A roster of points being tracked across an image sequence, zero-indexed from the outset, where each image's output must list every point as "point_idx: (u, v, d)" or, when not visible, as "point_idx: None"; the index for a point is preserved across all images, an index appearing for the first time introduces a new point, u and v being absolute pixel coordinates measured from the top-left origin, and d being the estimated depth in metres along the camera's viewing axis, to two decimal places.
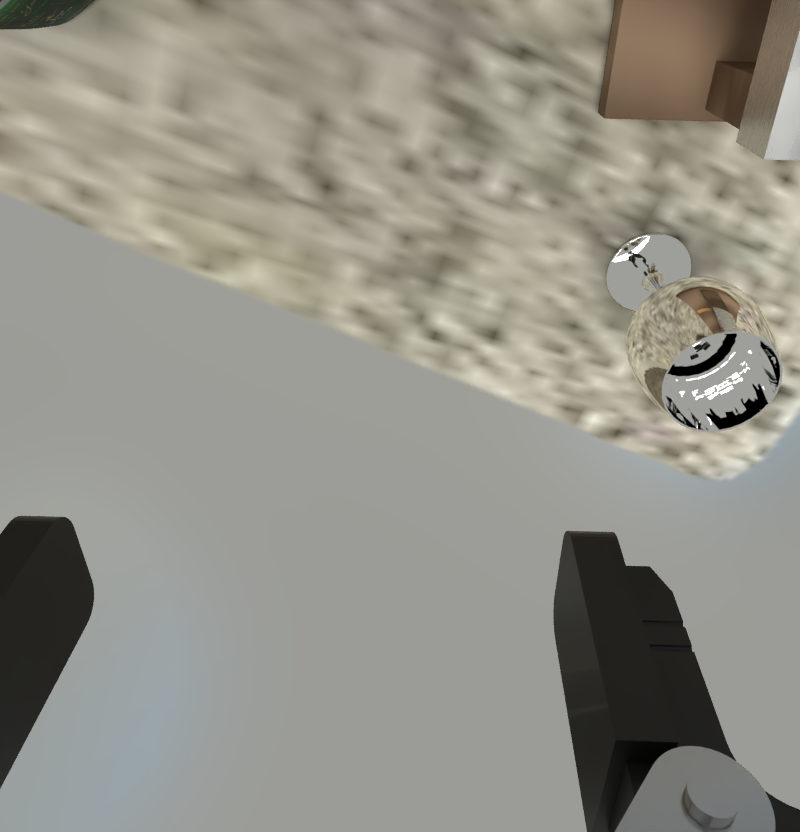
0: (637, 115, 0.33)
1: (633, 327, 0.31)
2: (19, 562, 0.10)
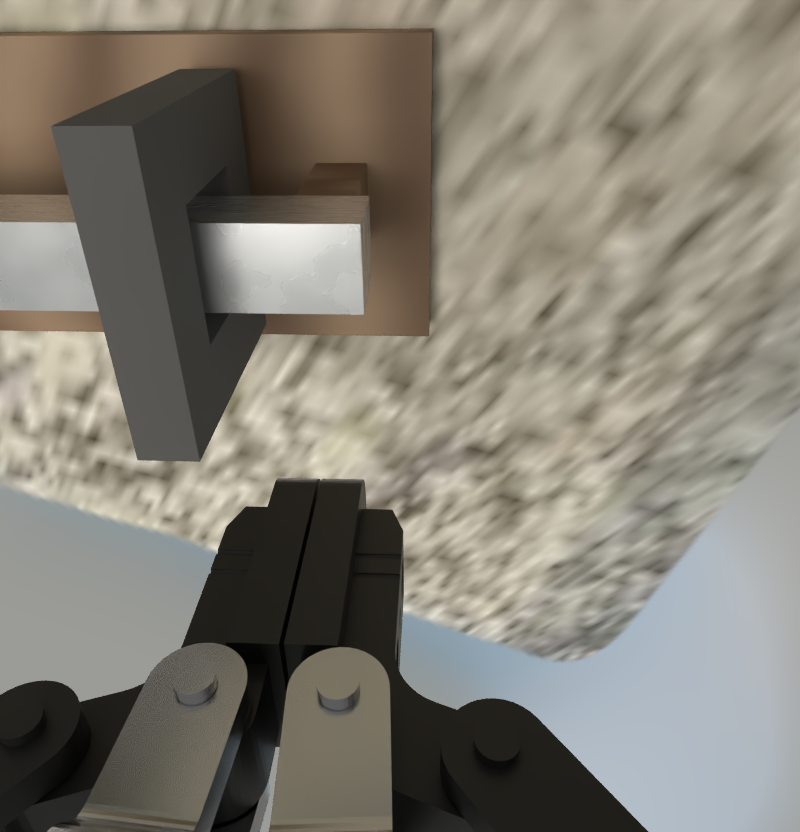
0: None
1: None
2: (301, 517, 0.11)
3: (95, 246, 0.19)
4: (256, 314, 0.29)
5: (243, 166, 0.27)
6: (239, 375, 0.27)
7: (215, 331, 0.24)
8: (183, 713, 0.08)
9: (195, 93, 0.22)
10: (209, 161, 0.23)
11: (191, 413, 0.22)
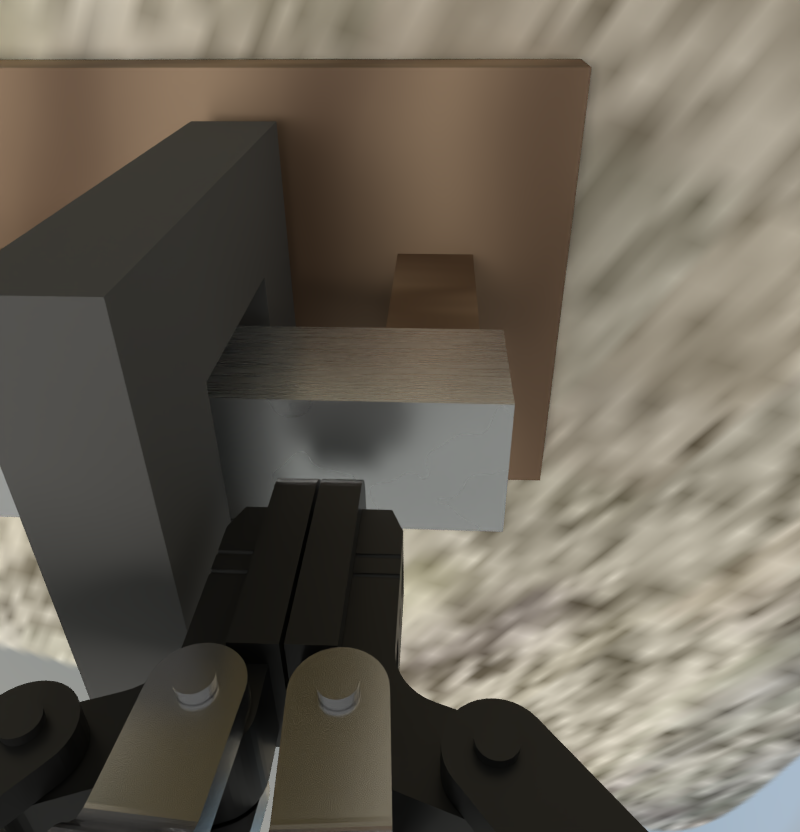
0: None
1: None
2: (301, 518, 0.11)
3: (37, 497, 0.10)
4: None
5: (285, 264, 0.18)
6: None
7: None
8: (183, 713, 0.08)
9: (223, 180, 0.13)
10: (242, 284, 0.14)
11: None
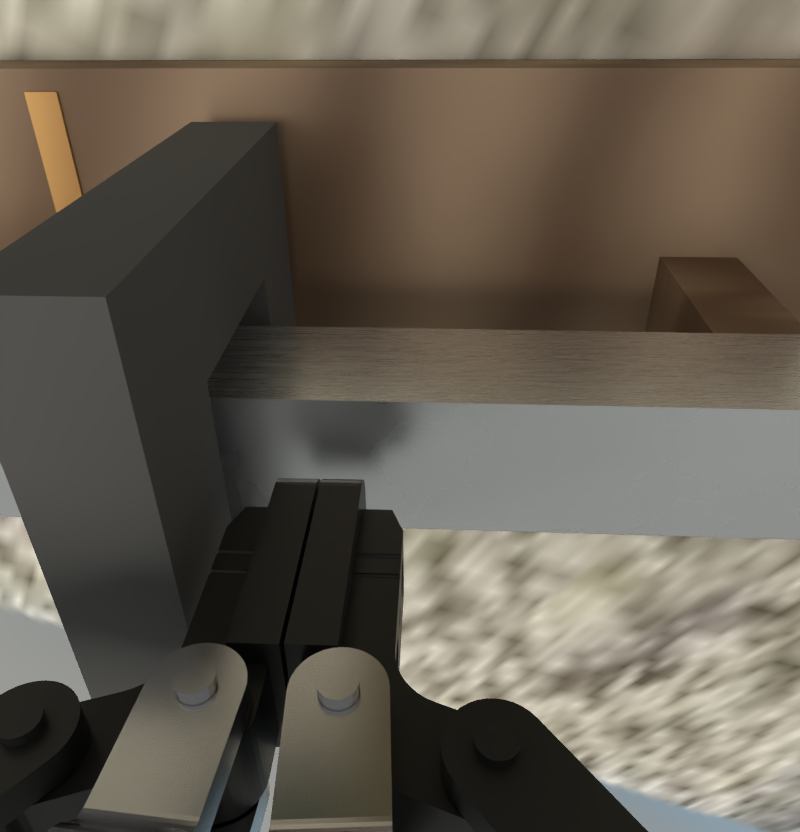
0: None
1: None
2: (301, 517, 0.11)
3: (39, 497, 0.10)
4: None
5: (285, 265, 0.18)
6: None
7: None
8: (183, 713, 0.08)
9: (224, 181, 0.13)
10: (242, 284, 0.14)
11: None
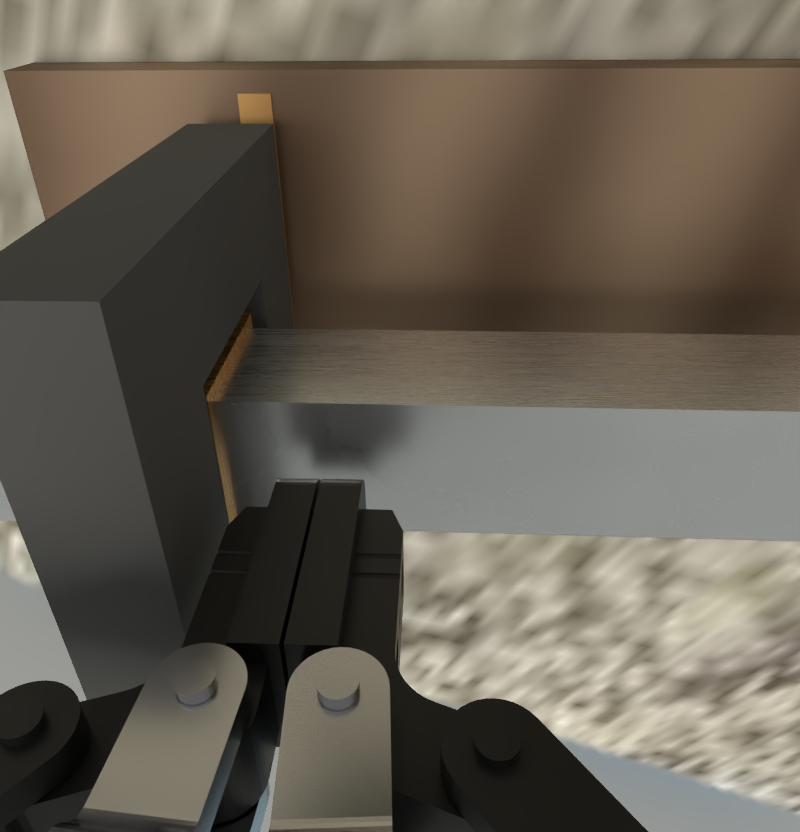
0: (28, 136, 0.18)
1: None
2: (302, 518, 0.11)
3: (34, 502, 0.10)
4: None
5: (283, 267, 0.18)
6: None
7: None
8: (183, 713, 0.08)
9: (219, 184, 0.13)
10: (239, 287, 0.14)
11: None
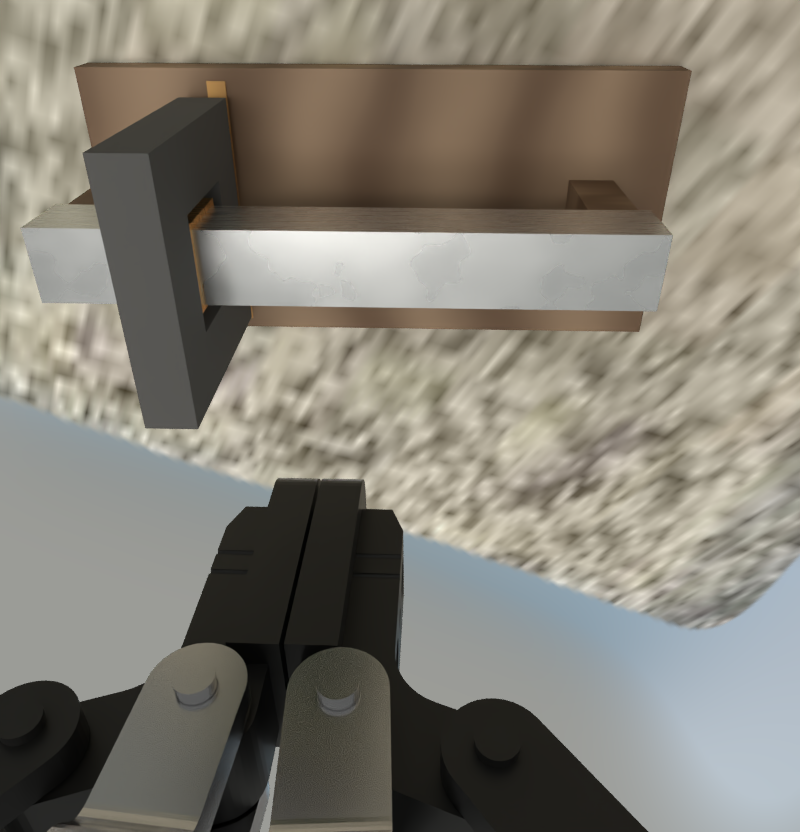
0: (86, 105, 0.31)
1: None
2: (301, 517, 0.11)
3: (115, 249, 0.23)
4: (244, 308, 0.34)
5: (232, 180, 0.31)
6: (229, 359, 0.31)
7: (209, 321, 0.29)
8: (183, 713, 0.08)
9: (195, 122, 0.26)
10: (205, 178, 0.27)
11: (191, 387, 0.26)
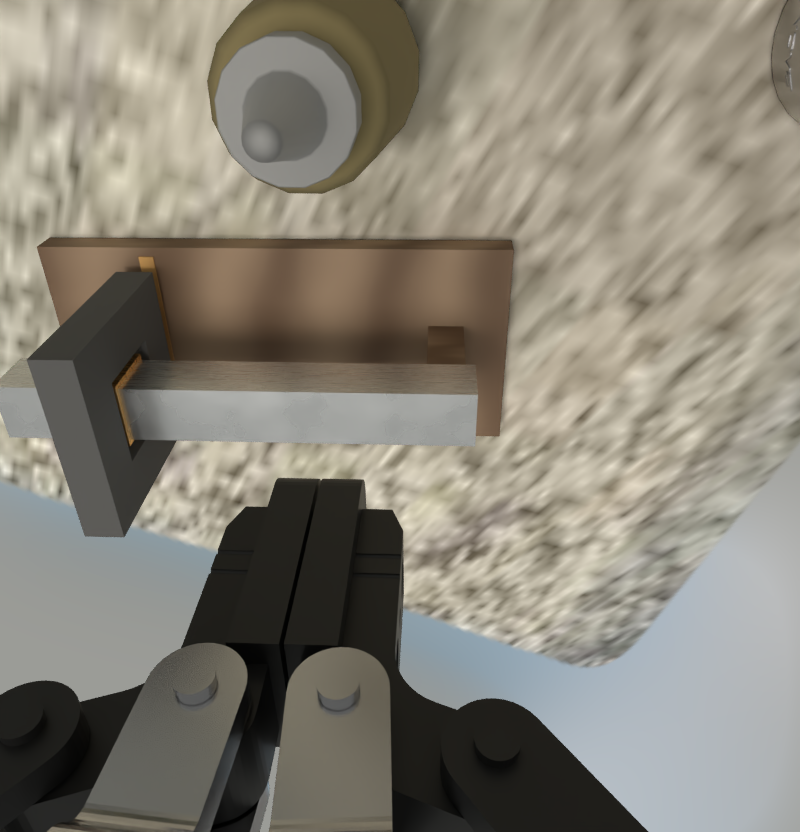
0: (47, 272, 0.40)
1: None
2: (301, 517, 0.11)
3: (54, 419, 0.32)
4: None
5: (160, 330, 0.40)
6: (158, 471, 0.40)
7: (137, 449, 0.38)
8: (183, 713, 0.08)
9: (119, 310, 0.35)
10: (130, 345, 0.36)
11: (117, 509, 0.35)
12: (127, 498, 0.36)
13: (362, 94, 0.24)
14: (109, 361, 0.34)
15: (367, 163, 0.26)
